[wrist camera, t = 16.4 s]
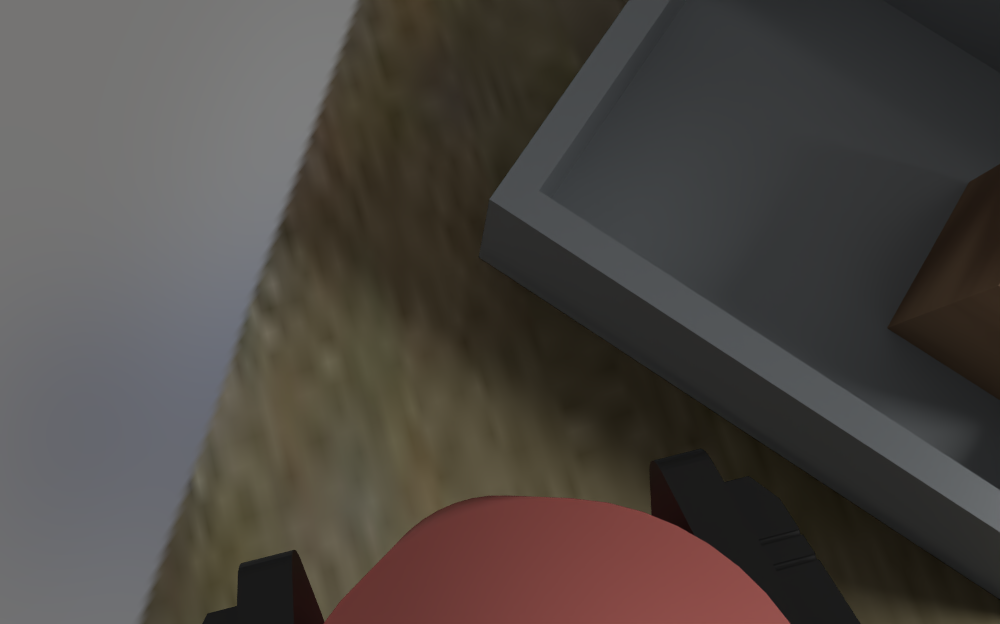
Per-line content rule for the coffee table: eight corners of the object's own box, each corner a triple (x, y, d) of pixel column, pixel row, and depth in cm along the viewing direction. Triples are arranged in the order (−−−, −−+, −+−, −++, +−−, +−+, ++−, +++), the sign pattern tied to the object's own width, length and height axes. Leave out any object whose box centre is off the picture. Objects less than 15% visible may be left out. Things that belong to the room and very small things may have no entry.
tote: (724, -99, 28) (785, -224, 23) (1228, 215, 27) (1402, 152, 22) (478, 257, 25) (489, 199, 20) (1030, 619, 24) (1179, 649, 20)
